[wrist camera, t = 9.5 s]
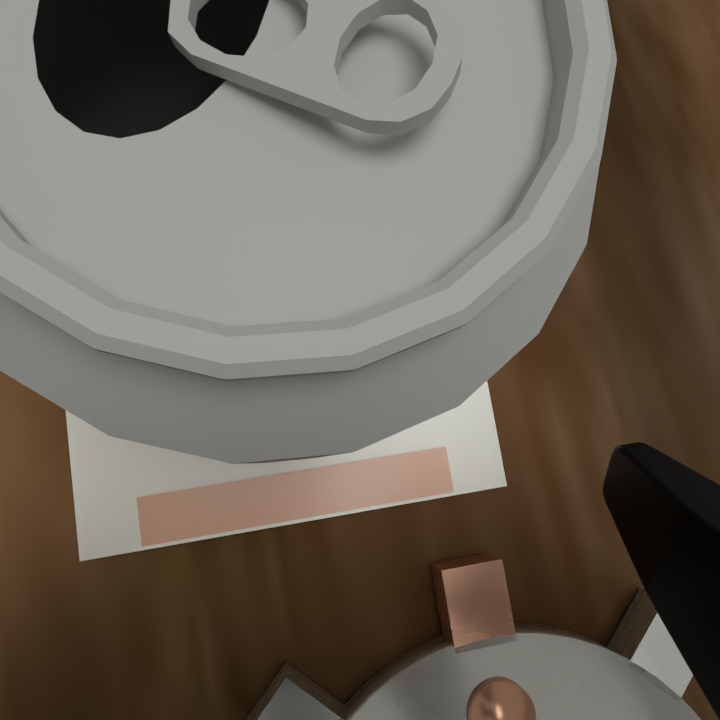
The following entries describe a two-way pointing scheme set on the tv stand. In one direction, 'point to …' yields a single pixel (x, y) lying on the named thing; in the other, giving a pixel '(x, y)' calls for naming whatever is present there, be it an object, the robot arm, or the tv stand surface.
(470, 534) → the tv stand surface
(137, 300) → the can
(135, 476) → the pad
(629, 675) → the sprocket
